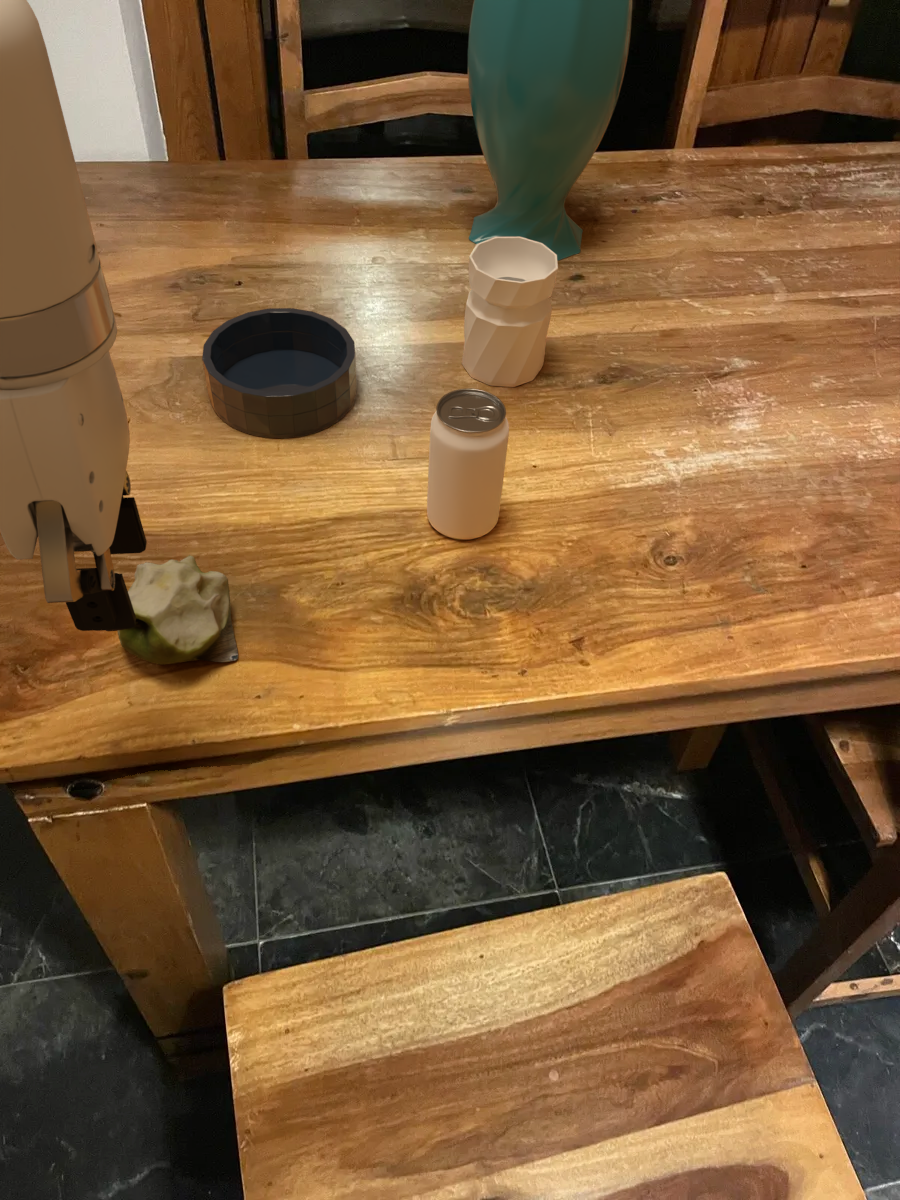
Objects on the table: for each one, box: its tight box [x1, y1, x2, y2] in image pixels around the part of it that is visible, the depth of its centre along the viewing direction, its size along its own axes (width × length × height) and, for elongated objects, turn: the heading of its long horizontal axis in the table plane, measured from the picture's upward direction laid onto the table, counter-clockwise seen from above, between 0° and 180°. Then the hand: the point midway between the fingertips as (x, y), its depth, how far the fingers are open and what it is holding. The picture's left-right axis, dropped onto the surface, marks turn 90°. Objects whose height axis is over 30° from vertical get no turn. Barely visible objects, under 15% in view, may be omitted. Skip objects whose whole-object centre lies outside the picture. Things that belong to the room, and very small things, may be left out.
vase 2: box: [461, 237, 559, 388], centre depth 95 cm, size 9×9×12 cm
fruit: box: [105, 554, 239, 666], centre depth 71 cm, size 9×9×8 cm
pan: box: [201, 307, 357, 439], centre depth 93 cm, size 15×15×5 cm
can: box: [426, 388, 510, 541], centre depth 79 cm, size 6×6×12 cm
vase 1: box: [467, 0, 633, 262], centre depth 106 cm, size 17×17×30 cm
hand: (113, 584), depth 54 cm, fingers open, 5 cm apart
